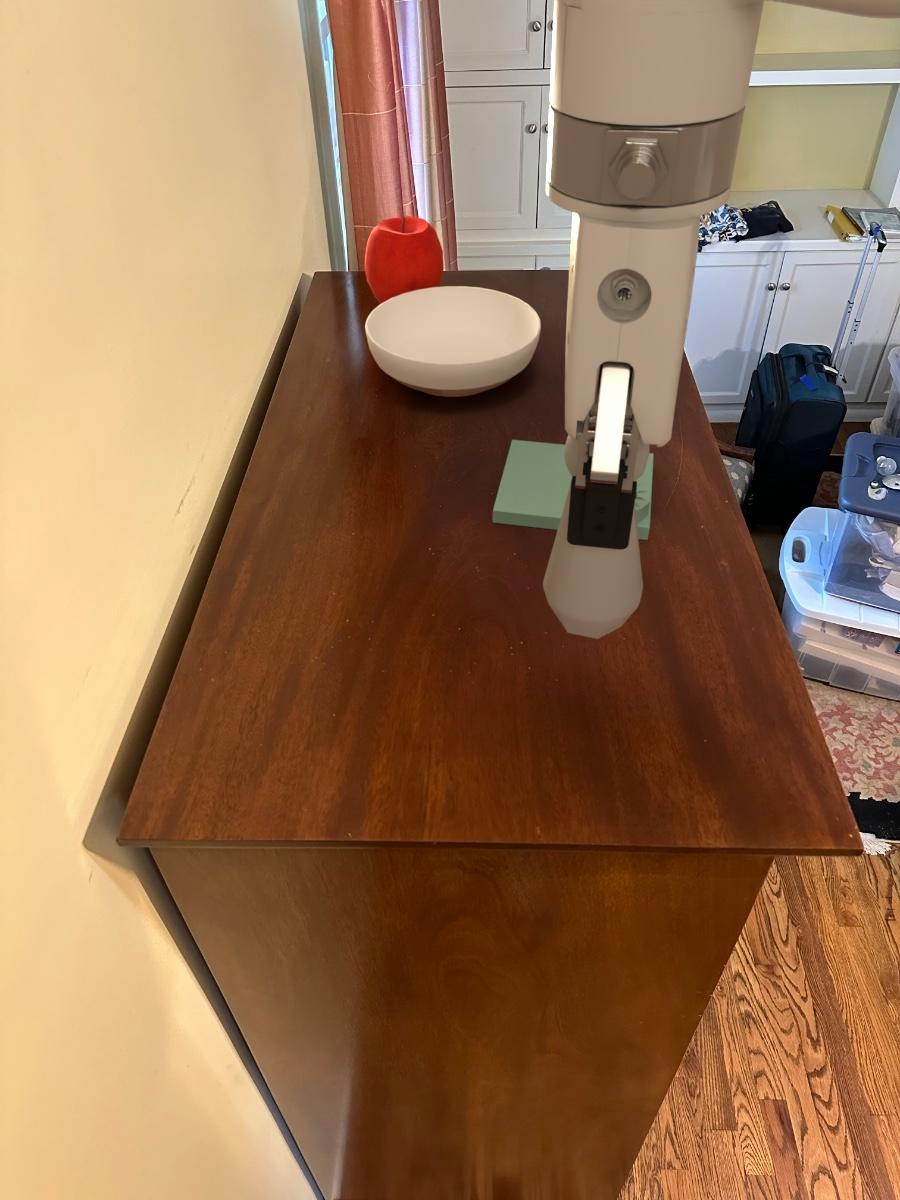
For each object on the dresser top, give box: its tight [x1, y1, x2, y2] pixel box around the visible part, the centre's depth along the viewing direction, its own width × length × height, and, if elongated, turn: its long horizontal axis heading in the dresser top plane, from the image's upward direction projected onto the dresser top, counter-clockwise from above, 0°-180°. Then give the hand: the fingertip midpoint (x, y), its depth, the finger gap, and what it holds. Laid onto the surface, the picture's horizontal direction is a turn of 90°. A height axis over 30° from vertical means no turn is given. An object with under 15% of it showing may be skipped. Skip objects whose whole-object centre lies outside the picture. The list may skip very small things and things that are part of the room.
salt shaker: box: [542, 416, 651, 640], centre depth 48 cm, size 6×6×13 cm
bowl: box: [364, 285, 542, 398], centre depth 97 cm, size 20×20×6 cm
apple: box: [364, 215, 445, 305], centre depth 107 cm, size 10×10×12 cm
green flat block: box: [492, 439, 654, 541], centre depth 81 cm, size 14×12×3 cm
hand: (600, 512), depth 47 cm, fingers closed on salt shaker, 4 cm apart
